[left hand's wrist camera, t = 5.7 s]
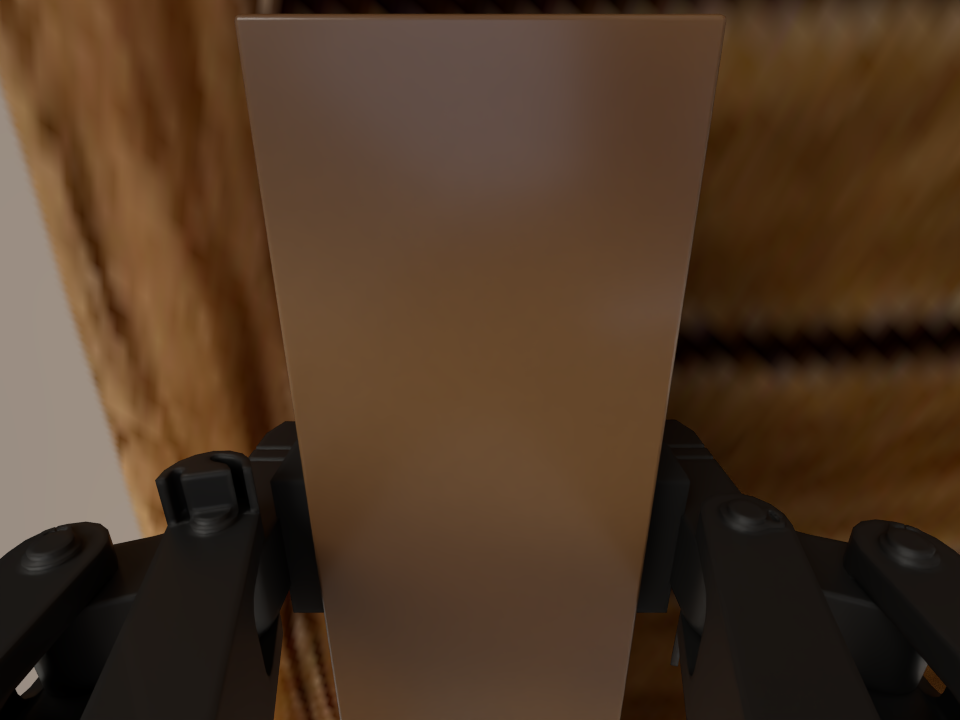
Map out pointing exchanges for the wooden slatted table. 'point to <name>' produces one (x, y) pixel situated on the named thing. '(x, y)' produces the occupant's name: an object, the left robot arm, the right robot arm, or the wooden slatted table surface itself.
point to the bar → (480, 334)
